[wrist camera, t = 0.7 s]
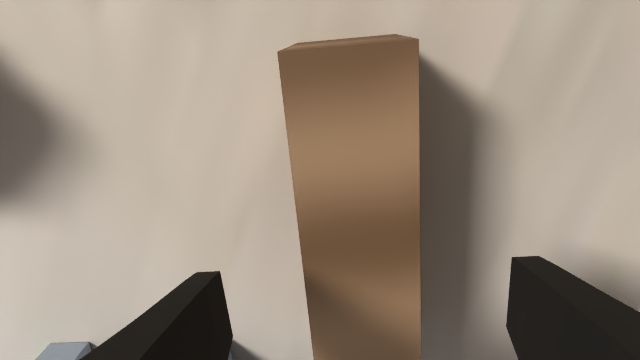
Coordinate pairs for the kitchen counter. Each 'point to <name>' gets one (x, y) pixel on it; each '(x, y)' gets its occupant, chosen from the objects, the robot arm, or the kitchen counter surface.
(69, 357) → the blue-grey stepped platform
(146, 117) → the kitchen counter surface
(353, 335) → the brown block
